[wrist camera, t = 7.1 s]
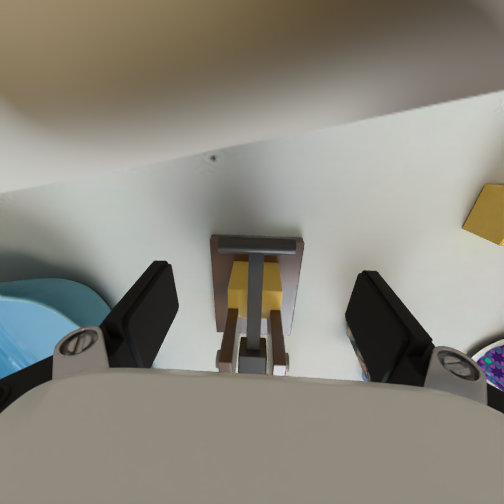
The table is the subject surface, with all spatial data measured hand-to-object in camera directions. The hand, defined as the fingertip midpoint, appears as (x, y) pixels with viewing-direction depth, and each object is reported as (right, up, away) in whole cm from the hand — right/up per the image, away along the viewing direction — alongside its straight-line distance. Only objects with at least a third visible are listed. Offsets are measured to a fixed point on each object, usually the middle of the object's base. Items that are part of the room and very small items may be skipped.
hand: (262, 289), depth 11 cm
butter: (0, -1, +14) cm, 14 cm away
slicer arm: (0, -2, +7) cm, 8 cm away
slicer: (0, -3, +16) cm, 16 cm away
